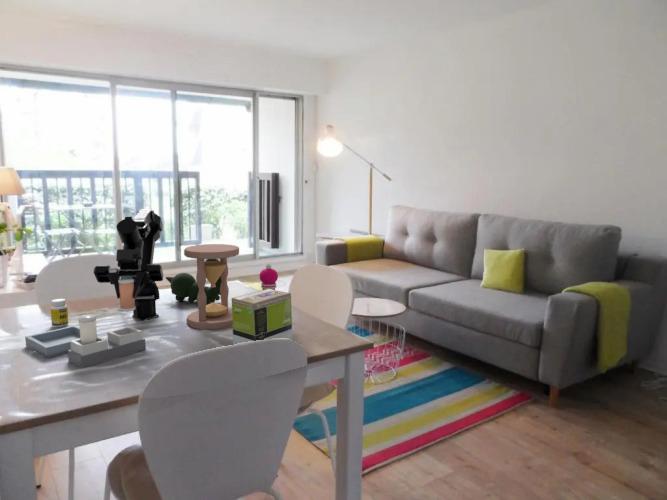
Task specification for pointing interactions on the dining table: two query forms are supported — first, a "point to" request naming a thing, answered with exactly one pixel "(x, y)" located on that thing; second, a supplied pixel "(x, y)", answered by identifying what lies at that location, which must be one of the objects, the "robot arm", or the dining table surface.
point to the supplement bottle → (59, 313)
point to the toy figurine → (192, 287)
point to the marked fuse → (126, 294)
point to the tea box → (261, 316)
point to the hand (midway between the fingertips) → (125, 297)
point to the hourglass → (212, 270)
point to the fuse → (87, 329)
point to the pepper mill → (268, 278)
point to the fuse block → (107, 347)
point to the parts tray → (53, 341)
